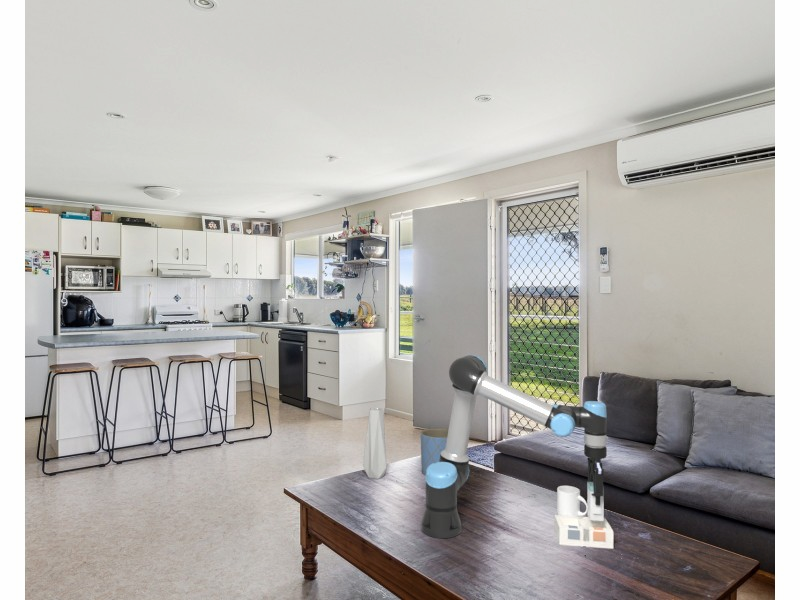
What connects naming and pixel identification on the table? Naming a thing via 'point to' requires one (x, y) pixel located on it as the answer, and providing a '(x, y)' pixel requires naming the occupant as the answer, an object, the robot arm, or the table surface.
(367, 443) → the vase
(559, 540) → the socket box
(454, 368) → the robot arm
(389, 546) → the table surface
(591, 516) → the plug
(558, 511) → the mug
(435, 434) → the planter
